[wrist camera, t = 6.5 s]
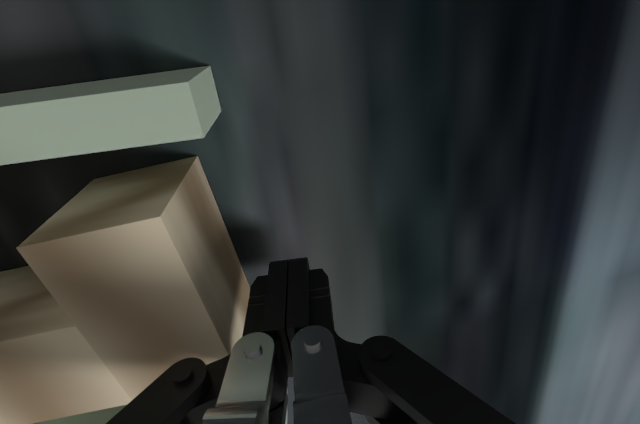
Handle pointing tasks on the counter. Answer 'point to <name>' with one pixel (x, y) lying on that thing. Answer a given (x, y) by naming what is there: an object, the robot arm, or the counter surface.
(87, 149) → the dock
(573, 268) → the counter surface
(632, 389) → the counter surface
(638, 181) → the counter surface
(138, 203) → the t block
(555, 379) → the counter surface
